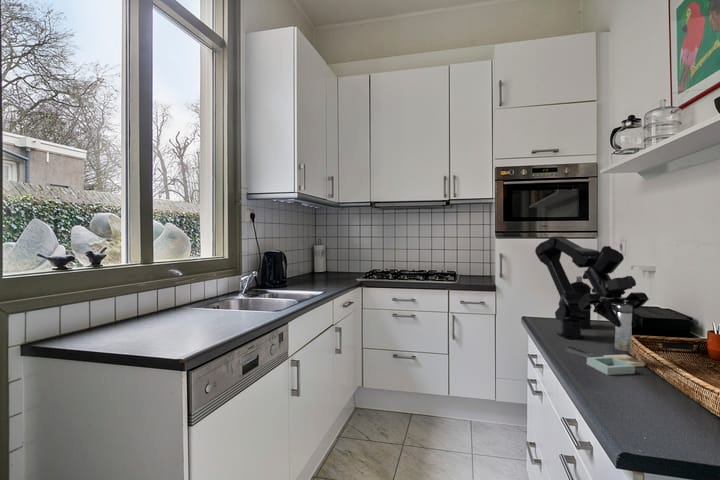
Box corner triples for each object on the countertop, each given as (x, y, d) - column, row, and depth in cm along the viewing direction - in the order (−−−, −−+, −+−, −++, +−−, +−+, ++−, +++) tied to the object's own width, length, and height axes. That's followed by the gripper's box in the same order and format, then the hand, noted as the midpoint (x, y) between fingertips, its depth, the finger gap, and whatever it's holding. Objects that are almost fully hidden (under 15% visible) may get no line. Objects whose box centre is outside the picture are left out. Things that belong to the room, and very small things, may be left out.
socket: (586, 364, 109) (586, 357, 109) (612, 362, 110) (612, 356, 110) (607, 375, 101) (607, 367, 101) (634, 373, 102) (634, 366, 102)
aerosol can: (594, 329, 145) (595, 278, 144) (571, 329, 146) (571, 277, 146) (586, 324, 153) (586, 275, 152) (564, 323, 154) (564, 275, 154)
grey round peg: (611, 347, 112) (611, 304, 111) (621, 345, 113) (621, 303, 112) (624, 351, 108) (625, 307, 107) (634, 349, 109) (635, 305, 109)
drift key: (565, 351, 121) (565, 347, 121) (569, 350, 122) (569, 346, 121) (590, 358, 114) (590, 355, 113) (593, 357, 114) (594, 354, 114)
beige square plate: (603, 358, 113) (603, 355, 113) (625, 357, 114) (625, 354, 114) (621, 367, 106) (621, 363, 106) (644, 366, 107) (644, 362, 107)
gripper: (584, 267, 113) (609, 312, 102) (644, 266, 114) (675, 310, 103) (568, 288, 121) (590, 332, 111) (624, 287, 122) (651, 330, 111)
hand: (626, 326), depth 109 cm, fingers closed on grey round peg, 4 cm apart
